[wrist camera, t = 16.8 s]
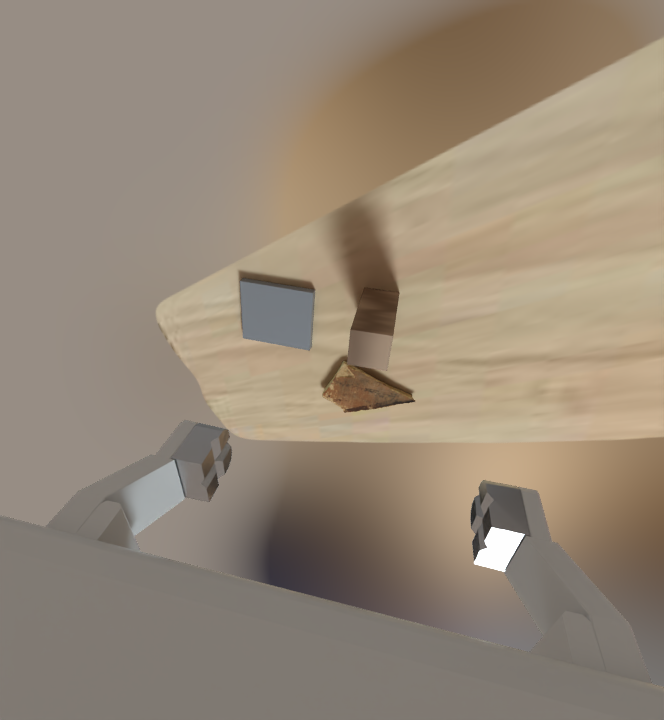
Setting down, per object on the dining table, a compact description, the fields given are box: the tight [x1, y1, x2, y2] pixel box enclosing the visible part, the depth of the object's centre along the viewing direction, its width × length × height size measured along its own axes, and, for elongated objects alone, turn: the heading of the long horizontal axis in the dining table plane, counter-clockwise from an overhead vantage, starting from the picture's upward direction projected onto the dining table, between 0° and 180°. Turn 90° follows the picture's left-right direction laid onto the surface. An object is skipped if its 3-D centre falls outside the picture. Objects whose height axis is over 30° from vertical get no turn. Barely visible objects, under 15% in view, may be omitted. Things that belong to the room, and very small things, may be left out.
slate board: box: [240, 278, 315, 350], centre depth 49 cm, size 2×8×9 cm
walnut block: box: [347, 288, 399, 371], centre depth 41 cm, size 4×4×10 cm
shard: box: [322, 361, 415, 412], centre depth 53 cm, size 11×8×2 cm
